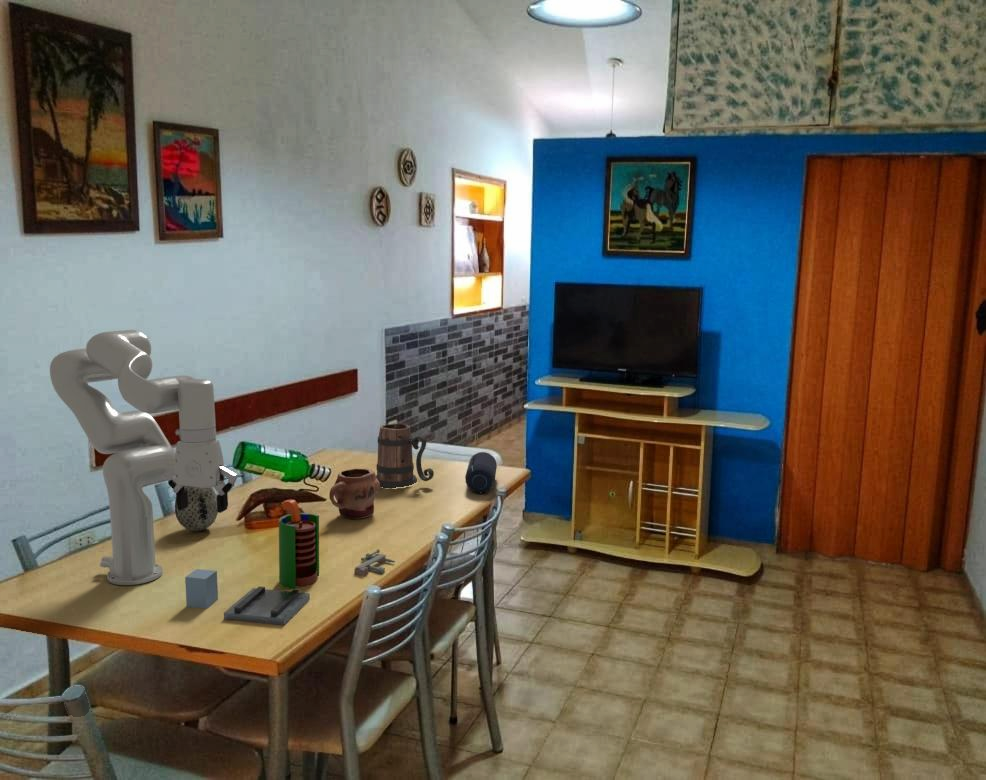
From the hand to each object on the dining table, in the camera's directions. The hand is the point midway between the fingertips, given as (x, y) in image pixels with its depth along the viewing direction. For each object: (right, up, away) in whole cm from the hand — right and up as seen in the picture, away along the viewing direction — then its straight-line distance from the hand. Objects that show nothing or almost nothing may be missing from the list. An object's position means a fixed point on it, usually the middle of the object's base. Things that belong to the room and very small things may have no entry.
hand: (202, 509), depth 192 cm
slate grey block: (-1, -22, +3) cm, 22 cm away
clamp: (+35, -19, +28) cm, 48 cm away
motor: (+18, -20, +17) cm, 31 cm away
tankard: (+34, -6, +104) cm, 110 cm away
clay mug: (+23, -12, +67) cm, 72 cm away
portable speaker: (+61, -6, +103) cm, 120 cm away
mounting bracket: (+15, -22, 0) cm, 27 cm away
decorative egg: (-19, -13, +52) cm, 57 cm away
